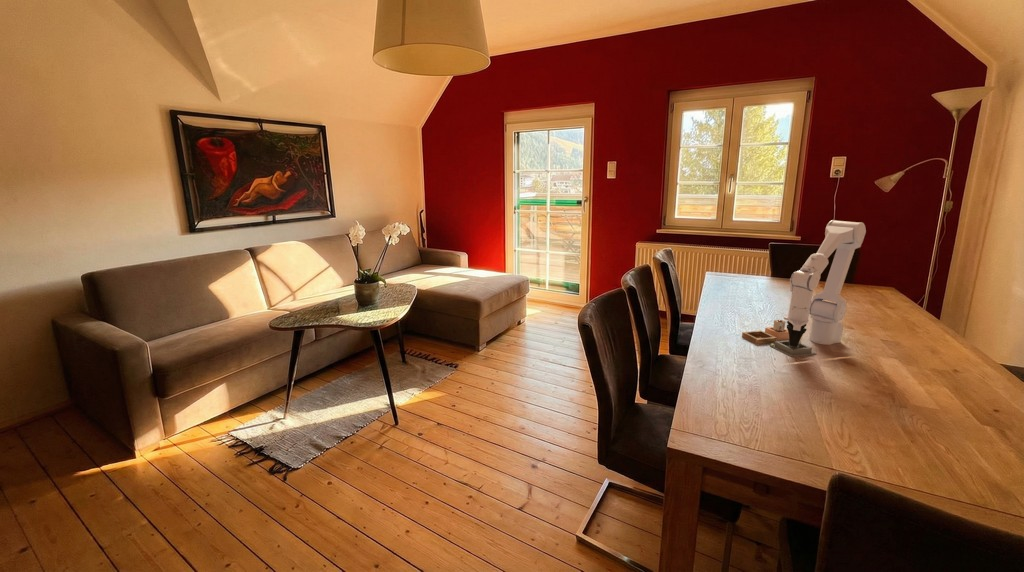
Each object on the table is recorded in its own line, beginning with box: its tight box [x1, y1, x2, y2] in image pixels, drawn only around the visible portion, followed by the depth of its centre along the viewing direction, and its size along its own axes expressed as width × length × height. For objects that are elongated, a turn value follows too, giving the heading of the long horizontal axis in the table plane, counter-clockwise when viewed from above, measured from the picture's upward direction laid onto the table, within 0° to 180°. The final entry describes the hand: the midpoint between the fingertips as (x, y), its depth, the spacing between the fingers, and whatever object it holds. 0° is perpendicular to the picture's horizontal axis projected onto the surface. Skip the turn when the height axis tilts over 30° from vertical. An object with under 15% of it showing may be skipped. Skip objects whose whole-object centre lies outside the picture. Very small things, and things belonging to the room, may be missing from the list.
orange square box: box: [764, 326, 789, 341], centre depth 162 cm, size 6×6×3 cm
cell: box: [787, 334, 804, 349], centre depth 149 cm, size 4×4×6 cm
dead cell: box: [772, 319, 787, 332], centre depth 161 cm, size 4×4×6 cm
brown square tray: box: [741, 330, 778, 345], centre depth 159 cm, size 8×8×2 cm
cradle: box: [769, 339, 817, 358], centre depth 150 cm, size 10×10×3 cm
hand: (793, 343), depth 149 cm, fingers closed on cell, 4 cm apart
